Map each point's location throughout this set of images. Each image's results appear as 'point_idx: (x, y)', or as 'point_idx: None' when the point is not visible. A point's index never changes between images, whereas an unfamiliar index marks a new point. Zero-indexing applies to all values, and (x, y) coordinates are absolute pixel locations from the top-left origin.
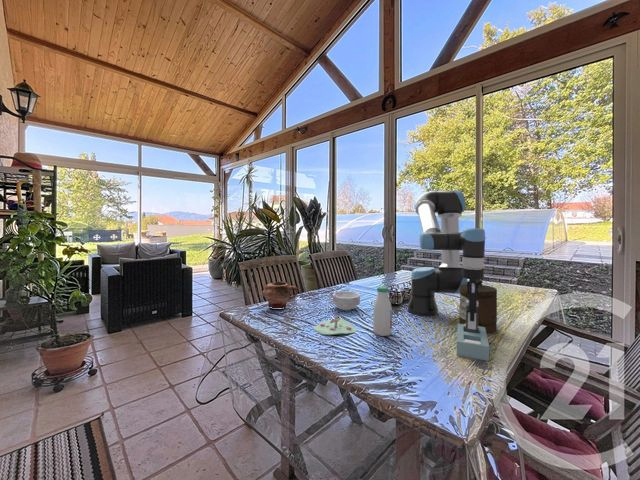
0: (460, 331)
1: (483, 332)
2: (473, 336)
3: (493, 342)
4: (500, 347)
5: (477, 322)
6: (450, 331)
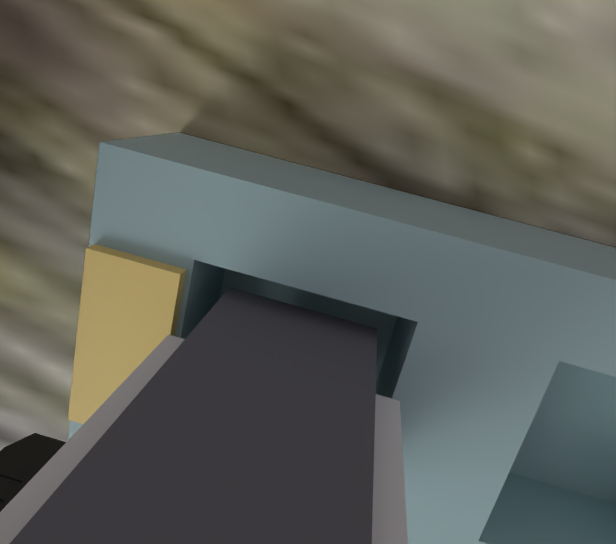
0: None
1: (358, 251)
2: (522, 434)
3: (253, 51)
4: (401, 15)
5: (371, 442)
6: (53, 426)
